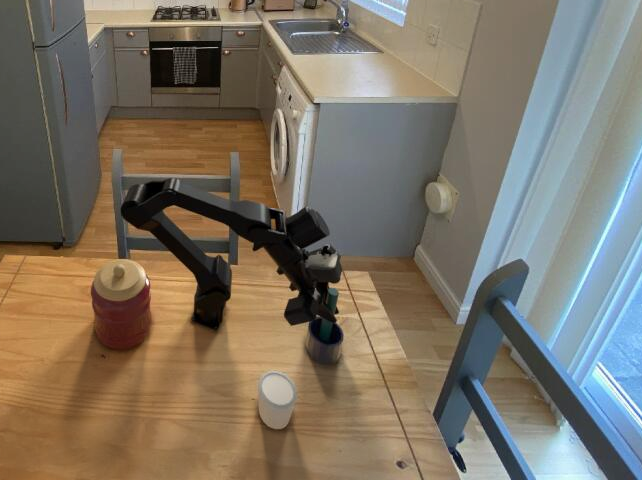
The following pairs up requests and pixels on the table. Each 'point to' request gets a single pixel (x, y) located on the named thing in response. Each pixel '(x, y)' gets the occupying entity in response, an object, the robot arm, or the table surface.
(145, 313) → the kitchen canister
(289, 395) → the white cylindrical container
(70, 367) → the table surface
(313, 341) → the cup
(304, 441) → the table surface
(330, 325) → the teal green rod
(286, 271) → the robot arm
